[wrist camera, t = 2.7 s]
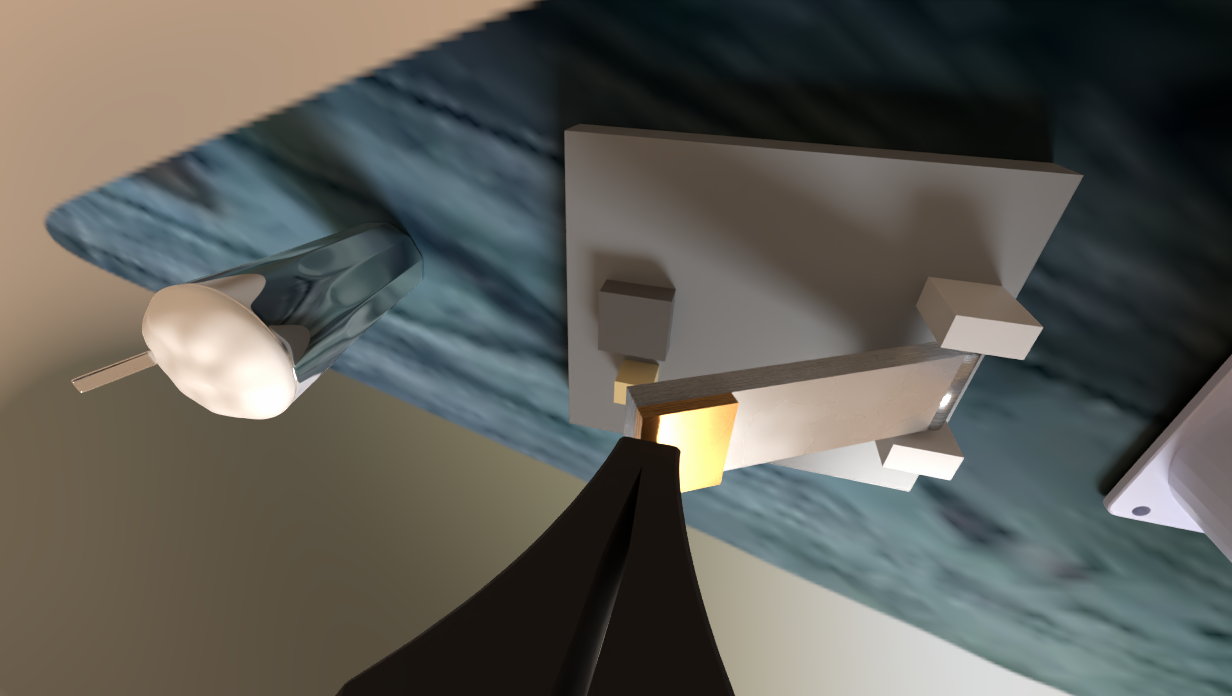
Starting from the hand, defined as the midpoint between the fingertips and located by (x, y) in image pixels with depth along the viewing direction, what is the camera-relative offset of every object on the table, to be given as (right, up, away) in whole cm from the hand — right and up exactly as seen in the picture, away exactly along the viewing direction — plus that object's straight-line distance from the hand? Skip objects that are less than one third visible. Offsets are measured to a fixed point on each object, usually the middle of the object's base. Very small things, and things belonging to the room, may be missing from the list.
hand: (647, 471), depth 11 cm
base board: (+5, +4, +7) cm, 9 cm away
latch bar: (+5, +1, +3) cm, 5 cm away
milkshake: (-11, +7, +10) cm, 16 cm away
